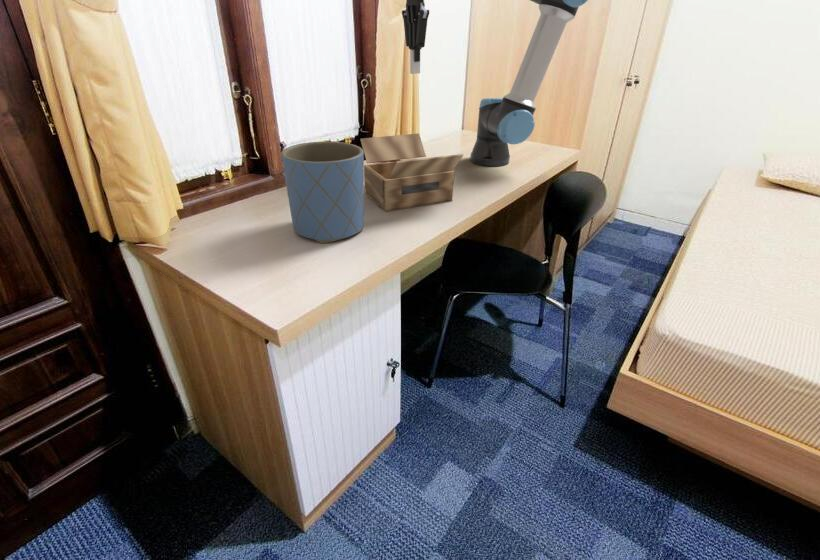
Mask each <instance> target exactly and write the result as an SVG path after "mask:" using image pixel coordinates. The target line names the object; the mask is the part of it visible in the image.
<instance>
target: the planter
mask: <svg viewBox="0 0 820 560" xmlns="http://www.w3.org/2000/svg"><path fill="white" fill-rule="evenodd" d="M280 155H281V163H282V169H283V174H284V176H283V177H284V180H285V186H286V192H287V199H288V205H289V211H290V215H291V222H292V226H293V230H294V232H295V233H296V234H298V235H300V236H301V237H304V238H308V239H311V240H315V241H317V242H318V243H320V244H327V243H331V242H335V241H338V240H339V241H340V240H342V239H343V240H344V239H345V238H349V237H352V236H354V235H356V234H358V233H360V232H362V231H363V229H364V220H365V219H364V213H365V212H364V211H365V210H364V208H365V206H364V205H365V204H364V203H365V202H364V201H365V200H364V199H365V197H364V194H365V190H364V189H365V182H364V165H365V164H364V162H365V161H364V159H365V155H364V151H363V148H362V147H360V146H358V145H356V144H352V143H347V142H342V141H341V142H340V141H339V142H337V141H310V142H304V143H299V144H294V145H290V146H287V147H285V148H284V149H283V150H282V151H281V153H280Z"/></svg>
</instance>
